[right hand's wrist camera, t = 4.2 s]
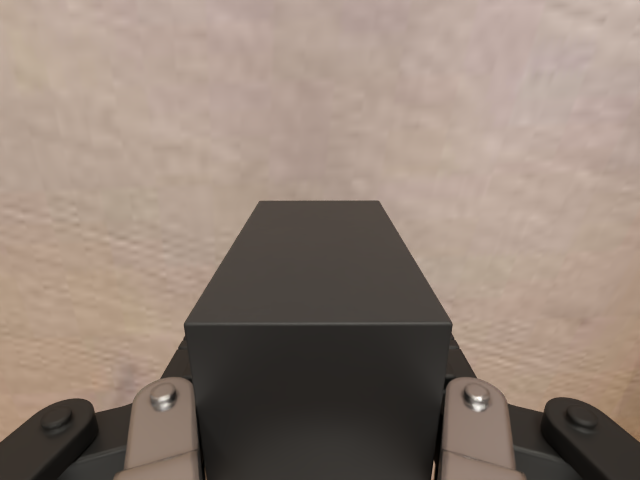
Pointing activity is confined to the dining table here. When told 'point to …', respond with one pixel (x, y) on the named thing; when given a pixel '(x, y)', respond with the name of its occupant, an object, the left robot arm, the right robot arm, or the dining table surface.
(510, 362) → the dining table surface
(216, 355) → the bar
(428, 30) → the dining table surface
